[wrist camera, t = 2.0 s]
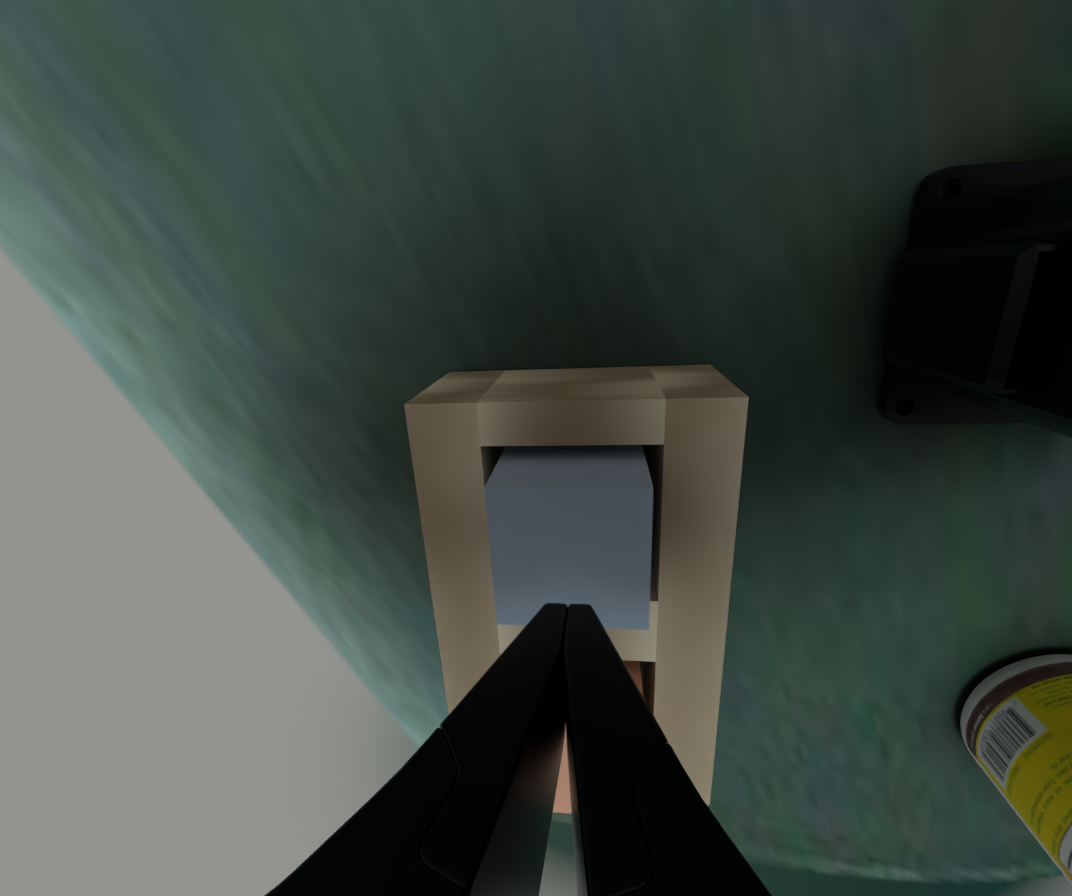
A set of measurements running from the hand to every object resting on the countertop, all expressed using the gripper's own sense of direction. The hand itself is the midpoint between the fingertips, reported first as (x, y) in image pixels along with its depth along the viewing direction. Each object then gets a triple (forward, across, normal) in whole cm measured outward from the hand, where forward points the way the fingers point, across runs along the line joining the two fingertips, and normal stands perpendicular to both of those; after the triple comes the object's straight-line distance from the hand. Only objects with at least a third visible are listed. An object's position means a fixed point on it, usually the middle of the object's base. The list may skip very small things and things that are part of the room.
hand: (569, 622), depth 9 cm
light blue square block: (+5, 0, 0) cm, 5 cm away
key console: (+8, 0, +3) cm, 8 cm away
